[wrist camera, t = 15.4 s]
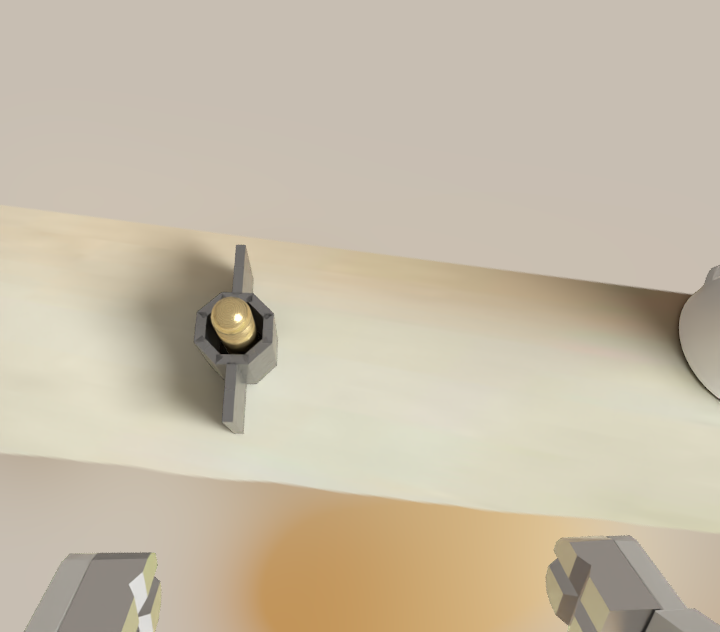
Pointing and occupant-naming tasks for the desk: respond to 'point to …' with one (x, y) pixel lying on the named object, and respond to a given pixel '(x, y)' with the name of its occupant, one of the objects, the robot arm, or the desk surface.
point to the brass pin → (235, 325)
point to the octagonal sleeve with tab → (232, 365)
